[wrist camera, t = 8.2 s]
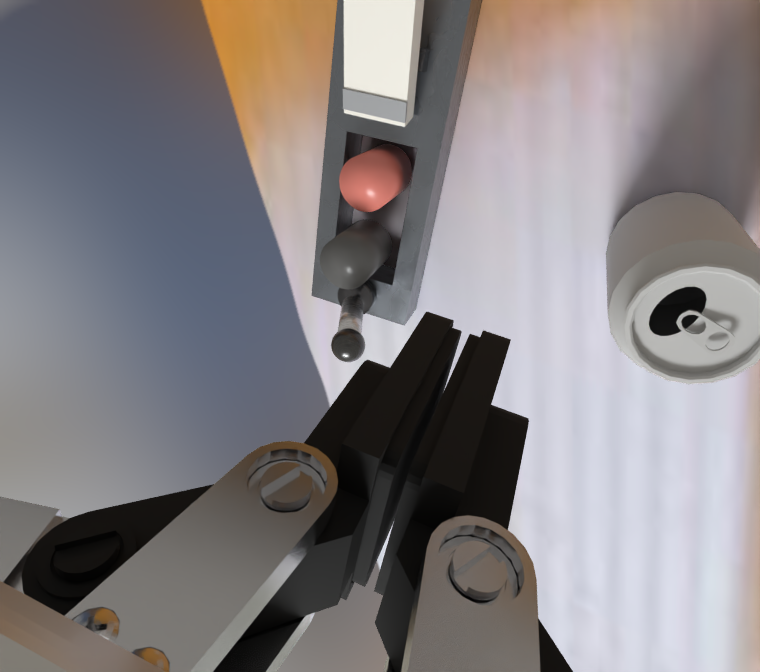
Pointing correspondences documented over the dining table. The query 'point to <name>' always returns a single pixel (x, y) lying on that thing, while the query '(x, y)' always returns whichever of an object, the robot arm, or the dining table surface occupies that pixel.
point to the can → (684, 289)
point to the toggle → (349, 331)
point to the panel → (424, 131)
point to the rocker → (381, 58)
